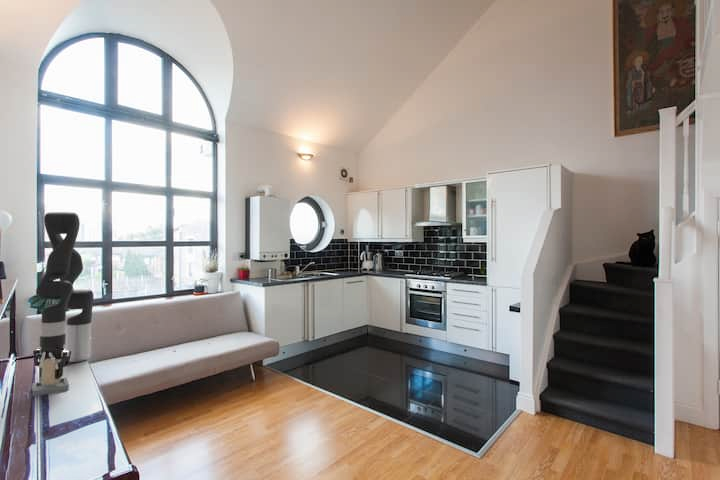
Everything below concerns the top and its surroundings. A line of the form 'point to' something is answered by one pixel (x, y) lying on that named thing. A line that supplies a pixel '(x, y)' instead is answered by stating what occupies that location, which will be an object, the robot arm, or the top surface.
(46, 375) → the candle
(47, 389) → the holder
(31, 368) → the top surface
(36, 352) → the robot arm
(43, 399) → the top surface
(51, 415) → the top surface
